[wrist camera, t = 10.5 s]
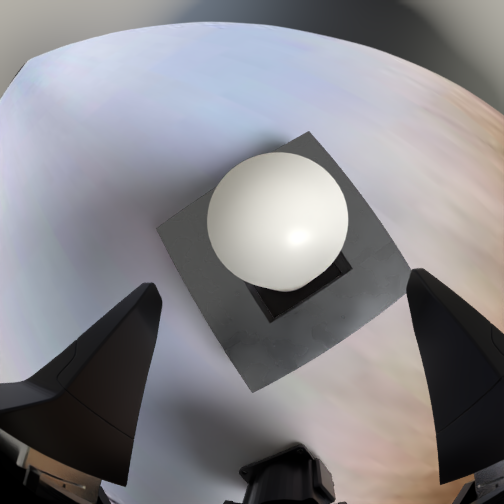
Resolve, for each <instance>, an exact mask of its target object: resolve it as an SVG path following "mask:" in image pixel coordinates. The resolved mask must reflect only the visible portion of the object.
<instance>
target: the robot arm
mask: <svg viewBox="0 0 504 504" xmlns="http://www.w3.org/2000/svg"><path fill="white" fill-rule="evenodd" d="M406 293H407V298H408V303H409V307H410V312H411V318H412V323H413V328H414V332H415V336H416V340H417V343H418V347H419V351H420V354H421V358H422V362H423V367H424V371H425V375H426V380H427V384H428V389H429V394H430V400H431V405H432V411H433V417H434V424H435V431H436V440H437V450H438V461H439V477H440V485H442V484H445V483H448V482H451V481H454V480H457V479H460V478H463V477H465V476H468V475H471V474H473V473H474V478H475V479H474V480H472V481H470V482H468V483H466V484H464V486H463V488H462V489H461V491H460V493H459V494H458V496H457V497H456V499H455V500H454V502H453V503H452V504H504V334H503V333H502V332H501V331H500V330H499V329H498V328H496V327H495V326H494V325H493V324H492V323H490V321H488V320H487V319H486V318H485V317H484V316H483V315H482V314H480V313H479V312H478V311H477V310H476V309H474V308H473V307H472V306H471V305H470V304H468V303H467V302H466V301H465V300H464V299H462V298H461V297H460V296H459V295H457V294H456V293H455V292H454V291H452V290H451V289H450V288H448V287H447V286H446V285H445V284H443V283H442V282H441V281H439V280H438V279H437V278H435V277H434V276H433V275H431V274H430V273H429V272H427V271H426V270H425V269H423V268H416V269H412V271H411V273H410V276H409V280H408V283H407V287H406ZM161 309H162V298H161V296H160V294H159V292H158V290H157V287H156V285H155V284H154V283H143V284H141V285H140V286H139V287H138V288H136V289H135V290H134V291H133V292H131V293H130V294H129V295H128V296H127V297H125V298H124V299H123V300H122V301H121V302H119V303H118V304H117V305H116V306H115V307H113V308H112V309H111V310H110V311H109V312H108V313H106V314H105V315H104V316H103V317H102V318H100V319H99V320H98V321H97V322H96V323H95V324H94V325H92V326H91V327H90V328H89V329H88V330H87V331H85V332H84V333H83V334H82V335H81V336H80V337H79V338H78V339H77V340H75V341H74V342H73V343H72V344H71V345H70V346H68V347H67V348H66V349H65V350H64V351H63V352H62V353H60V354H59V355H58V356H57V357H55V358H54V359H53V360H52V361H50V362H49V363H48V364H47V365H45V366H44V367H43V368H41V369H40V370H39V371H38V372H36V373H35V374H34V375H33V376H31V377H30V378H28V379H26V380H24V381H21V382H15V383H0V504H111V502H110V501H109V499H108V497H107V495H106V494H105V492H104V490H103V488H102V487H101V486H100V485H101V481H102V480H105V481H108V482H111V483H114V484H117V485H120V486H124V487H126V485H127V480H128V473H129V466H130V460H131V454H132V448H133V443H134V440H133V439H134V437H135V431H136V426H137V421H138V416H139V411H140V407H141V402H142V397H143V393H144V389H145V384H146V380H147V376H148V372H149V368H150V364H151V360H152V356H153V352H154V348H155V344H156V340H157V334H158V328H159V321H160V315H161ZM298 449H302V451H298ZM243 471H246V472H247V473H245V472H243ZM239 474H240V475H241V476H242V478H243V479H244V480H245V481H246V482H247V483H248V486H247V489H246V493H245V496H244V499H243V503H235V502H233V501H228V500H225V502H224V503H223V504H330V503H333V502H334V501H335V499H336V498H335V492H334V482H333V481H332V475H331V473H330V472H329V471H328V469H327V468H326V467H325V466H324V464H323V463H322V462H321V460H320V459H317V458H316V459H315V458H314V457H313V456H312V455H311V453H310V452H309V451H308V449H307V448H306V447H305V446H304V445H297V446H294V447H292V448H290V449H288V450H286V451H283V452H281V453H279V454H276V455H274V456H271V457H269V458H266V459H264V460H261V461H258V462H256V463H253V464H250V465H248V466H245V467H242V468H241V469H240V471H239ZM338 504H347V503H346V502H339V503H338Z"/></svg>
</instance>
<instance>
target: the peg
mask: <svg viewBox="0 0 504 504" xmlns="http://www.w3.org/2000/svg"><path fill="white" fill-rule="evenodd" d="M207 228H208V234H209V239H210V242H211V245H212V247H213V249H214V251H215V253H216V255H217V256H218V258H219V259H220V261H221V262H222V263H223V264H224V265H225V267H226V268H227V269H228V270H230V271H231V272H232V273H233V274H234V275H236V276H237V277H239V278H240V279H242V280H244V281H246V282H248V283H251V284H253V285H257V286H260V287H264V288H268V289H273V290H277V291H282V292H290V291H295V290H297V289H299V288H301V287H303V286H304V285H306V284H307V283H309V282H310V281H312V280H313V279H314V278H316V277H317V276H319V275H320V274H321V273H322V272H324V271H325V270H326V269H327V268H328V267H329V266H330V265H331V264H332V263H333V261H334V260H335V259H336V257H337V256H338V254H339V252H340V251H341V249H342V247H343V244H344V241H345V239H346V234H347V230H348V210H347V205H346V201H345V198H344V195H343V193H342V191H341V189H340V187H339V186H338V184H337V183H336V181H335V180H334V178H333V177H332V176H331V175H330V174H329V173H328V172H327V171H326V170H325V169H324V168H323V167H321V166H320V165H318V164H317V163H315V162H313V161H312V160H310V159H308V158H305V157H302V156H299V155H296V154H291V153H283V152H273V153H266V154H261V155H257V156H254V157H252V158H249V159H247V160H245V161H243V162H241V163H240V164H238V165H237V166H235V167H234V168H233V169H231V170H230V171H229V172H228V173H227V174H226V175H225V176H224V177H223V179H222V180H221V181H220V183H219V184H218V186H217V187H216V189H215V191H214V193H213V195H212V198H211V200H210V203H209V208H208V215H207Z"/></svg>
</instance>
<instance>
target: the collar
mask: <svg viewBox="0 0 504 504" xmlns="http://www.w3.org/2000/svg"><path fill="white" fill-rule="evenodd" d="M273 152H283V153H291V154H296V155H299V156H302V157H305V158H308V159H310V160H312V161H313V162H315V163H317V164H318V165H320V166H321V167H323V168H324V169H325V170H326V171H327V172H328V173H329V174H330V175H331V176H332V177H333V178H334V180H335V181H336V183H337V184H338V186H339V187H340V189H341V191H342V193H343V195H344V198H345V201H346V205H347V210H348V230H347V234H346V239H345V241H344V244H343V247H342V249H341V251H340V252H339V254H338V256H337V257H336V259H335V260H334V262H335V264H336V265H337V267H338V268H339V270H340V272H341V273H342V274H341V275H339V276H338V277H336V278H335V279H334V280H332V281H331V282H329V283H328V284H326V285H325V286H323V287H322V288H320V289H319V290H317V291H316V292H314V293H313V294H311V295H310V296H308V297H307V298H305V299H304V300H302V301H300V302H299V303H297V304H296V305H294V306H293V307H291V308H290V309H288V310H286V311H285V312H283V313H282V314H280V315H278V316H277V317H275V318H274V317H273V316H272V314H271V313H270V311H269V309H268V308H267V306H266V305H265V303H264V302H263V300H262V298H261V297H260V295H259V294H258V292H257V290H256V289H255V287H254V286H253V284H251V283H248V282H246V281H244V280H242V279H240V278H239V277H237V276H236V275H234V274H233V273H232V272H231V271H230V270H228V269H227V268H226V267H225V265H224V264H223V263H222V262H221V261H220V259H219V258H218V256H217V255H216V253H215V251H214V249H213V247H212V245H211V242H210V239H209V234H208V228H207V215H208V208H209V203H210V200H211V198H212V195H213V193H214V191H215V189H216V187H215V188H214V189H212V190H211V191H209V192H208V193H206V194H205V195H203V196H202V197H200V198H199V199H197V200H196V201H195V202H193V203H192V204H190V205H189V206H187V207H186V208H184V209H183V210H182V211H180V212H179V213H177V214H176V215H174V216H173V217H172V218H170V219H169V220H167V221H166V222H165V223H163V224H162V225H161V226H159V227H158V228H156V229H157V231H158V233H159V235H160V237H161V239H162V241H163V243H164V245H165V247H166V249H167V251H168V253H169V255H170V257H171V259H172V260H173V262H174V264H175V266H176V268H177V270H178V272H179V273H180V275H181V277H182V279H183V281H184V283H185V284H186V286H187V288H188V290H189V292H190V293H191V295H192V297H193V299H194V300H195V302H196V304H197V306H198V307H199V309H200V311H201V313H202V314H203V316H204V318H205V319H206V321H207V323H208V324H209V326H210V328H211V329H212V331H213V333H214V334H215V336H216V338H217V339H218V341H219V342H220V344H221V346H222V347H223V349H224V350H225V352H226V354H227V355H228V357H229V358H230V360H231V361H232V363H233V365H234V366H235V368H236V369H237V371H238V372H239V374H240V375H241V377H242V378H243V380H244V381H245V383H246V384H247V386H248V387H249V389H250V390H251V392H252V393H253V392H255V391H257V390H259V389H261V388H263V387H265V386H267V385H269V384H271V383H273V382H274V381H276V380H278V379H280V378H282V377H283V376H285V375H287V374H289V373H291V372H292V371H294V370H296V369H297V368H299V367H301V366H303V365H304V364H306V363H308V362H309V361H311V360H313V359H314V358H316V357H317V356H319V355H321V354H322V353H324V352H325V351H327V350H328V349H330V348H332V347H333V346H335V345H336V344H338V343H339V342H341V341H342V340H344V339H345V338H347V337H348V336H350V335H351V334H352V333H354V332H355V331H357V330H358V329H360V328H361V327H362V326H364V325H365V324H367V323H368V322H369V321H371V320H372V319H373V318H375V317H376V316H377V315H379V314H380V313H381V312H383V311H384V310H385V309H387V308H388V307H389V306H391V305H392V304H393V303H394V302H396V301H397V300H398V299H399V298H401V297H402V296H403V295H404V294H406V287H407V283H408V280H409V276H410V273H411V269H410V267H409V266H408V264H407V262H406V261H405V259H404V257H403V256H402V254H401V252H400V251H399V249H398V248H397V246H396V245H395V243H394V241H393V240H392V238H391V237H390V235H389V234H388V232H387V231H386V229H385V228H384V226H383V225H382V223H381V222H380V220H379V219H378V218H377V216H376V215H375V213H374V212H373V210H372V209H371V208H370V206H369V205H368V203H367V202H366V201H365V199H364V198H363V197H362V195H361V194H360V193H359V191H358V190H357V189H356V187H355V186H354V185H353V183H352V182H351V181H350V180H349V178H348V177H347V176H346V174H345V173H344V172H343V171H342V169H341V168H340V167H339V166H338V165H337V163H336V162H335V161H334V160H333V158H332V157H331V156H330V155H329V154H328V152H327V151H326V150H325V149H324V148H323V147H322V145H321V144H320V143H319V142H318V141H317V140H316V139H315V137H314V136H313V135H312V134H311V133H310V132H309V131H308V132H306V133H305V134H303V135H301V136H299V137H297V138H296V139H294V140H292V141H290V142H289V143H287V144H285V145H283V146H282V147H280V148H278V149H277V150H275V151H273ZM273 152H271V153H273Z"/></svg>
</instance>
